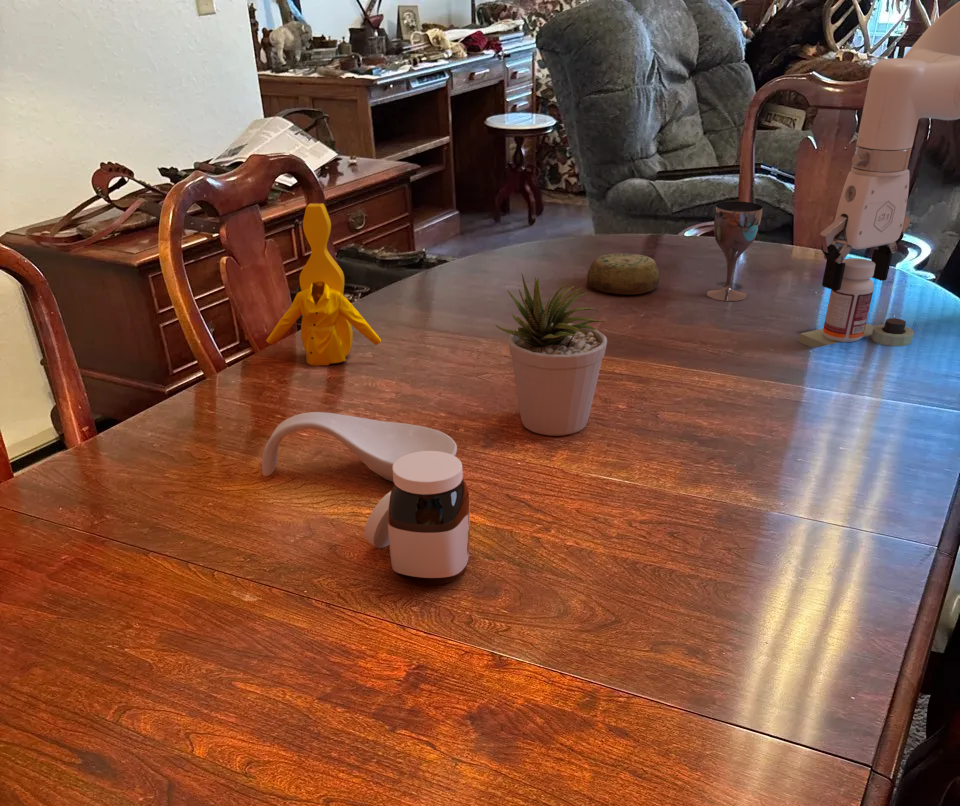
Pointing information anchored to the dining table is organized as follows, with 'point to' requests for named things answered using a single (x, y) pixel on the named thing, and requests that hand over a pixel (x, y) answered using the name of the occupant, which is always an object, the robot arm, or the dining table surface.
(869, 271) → the pill bottle
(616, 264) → the cheese wheel
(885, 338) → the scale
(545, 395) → the potted plant
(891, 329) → the button
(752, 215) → the wine glass
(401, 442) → the spoon rest
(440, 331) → the dining table surface
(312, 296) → the figure statuette
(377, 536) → the spread jar
